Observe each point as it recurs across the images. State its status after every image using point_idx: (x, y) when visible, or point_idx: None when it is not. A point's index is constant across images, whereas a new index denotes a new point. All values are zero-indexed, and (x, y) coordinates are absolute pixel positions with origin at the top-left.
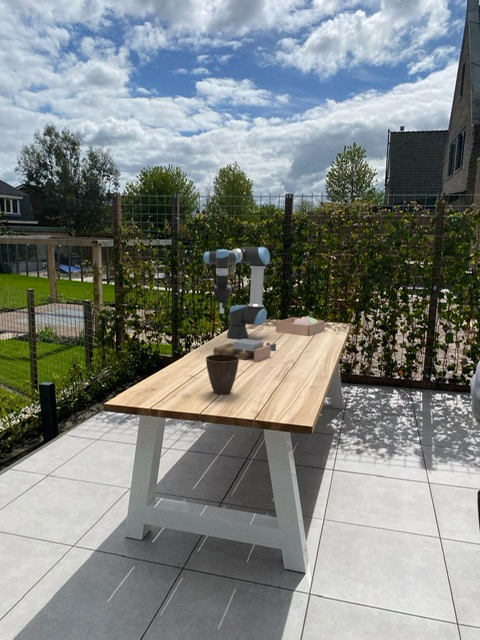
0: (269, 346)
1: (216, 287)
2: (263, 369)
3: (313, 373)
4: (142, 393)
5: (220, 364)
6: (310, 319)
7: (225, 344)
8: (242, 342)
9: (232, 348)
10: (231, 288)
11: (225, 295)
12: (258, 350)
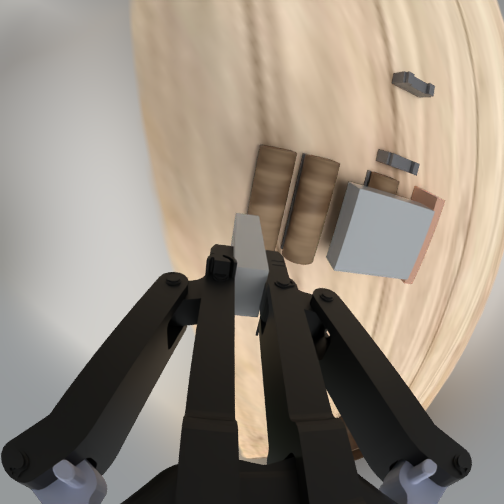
0: (441, 208)
1: (104, 493)
2: (407, 315)
3: (478, 291)
4: (256, 444)
5: (355, 457)
6: None
7: (269, 192)
8: (370, 266)
9: (317, 236)
10: (459, 454)
11: (315, 362)
12: (413, 277)
